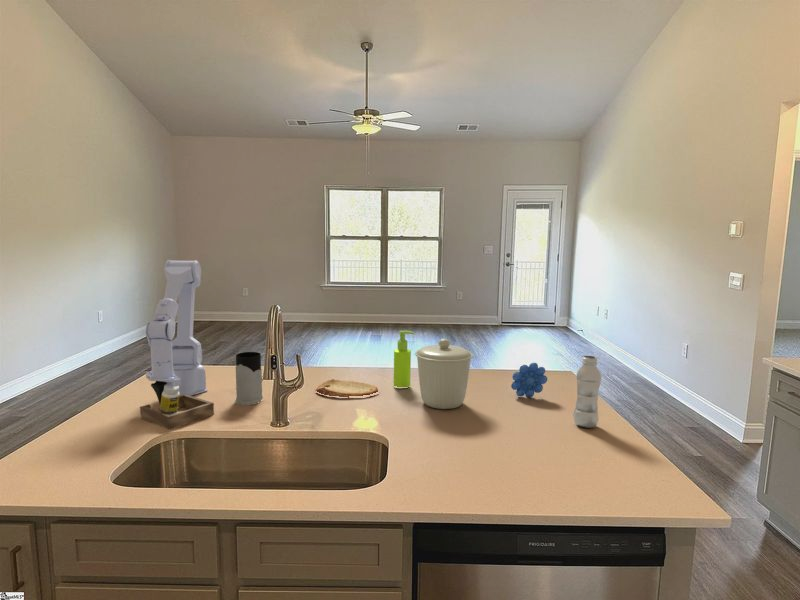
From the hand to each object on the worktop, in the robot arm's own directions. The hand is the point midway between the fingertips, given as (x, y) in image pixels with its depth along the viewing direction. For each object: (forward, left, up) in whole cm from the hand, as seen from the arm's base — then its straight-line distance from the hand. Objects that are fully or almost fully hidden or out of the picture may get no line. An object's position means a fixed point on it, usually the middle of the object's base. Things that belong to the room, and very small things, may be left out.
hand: (164, 405), depth 146 cm
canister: (-54, +65, -2) cm, 84 cm away
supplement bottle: (0, +2, -2) cm, 3 cm away
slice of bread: (-46, +32, -3) cm, 56 cm away
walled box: (0, +7, -2) cm, 7 cm away
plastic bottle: (-61, +107, -2) cm, 123 cm away
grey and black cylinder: (-24, +12, -2) cm, 27 cm away
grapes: (-77, +85, -2) cm, 114 cm away
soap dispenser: (-62, +45, -2) cm, 76 cm away
